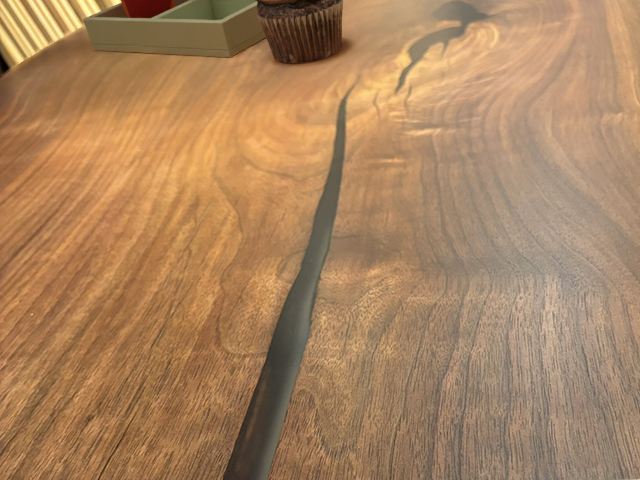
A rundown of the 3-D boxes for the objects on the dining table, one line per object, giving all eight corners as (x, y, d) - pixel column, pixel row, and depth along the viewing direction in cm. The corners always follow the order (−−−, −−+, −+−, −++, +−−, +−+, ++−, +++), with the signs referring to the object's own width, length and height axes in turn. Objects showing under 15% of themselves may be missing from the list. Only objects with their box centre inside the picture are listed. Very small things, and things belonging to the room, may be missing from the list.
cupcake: (252, 67, 80) (229, -34, 74) (286, 38, 87) (267, -56, 80) (332, 65, 77) (315, -40, 71) (360, 35, 84) (347, -63, 77)
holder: (230, 57, 84) (221, 22, 81) (93, 50, 94) (82, 19, 92) (288, 24, 91) (281, -9, 89) (155, 21, 101) (146, -9, 99)
